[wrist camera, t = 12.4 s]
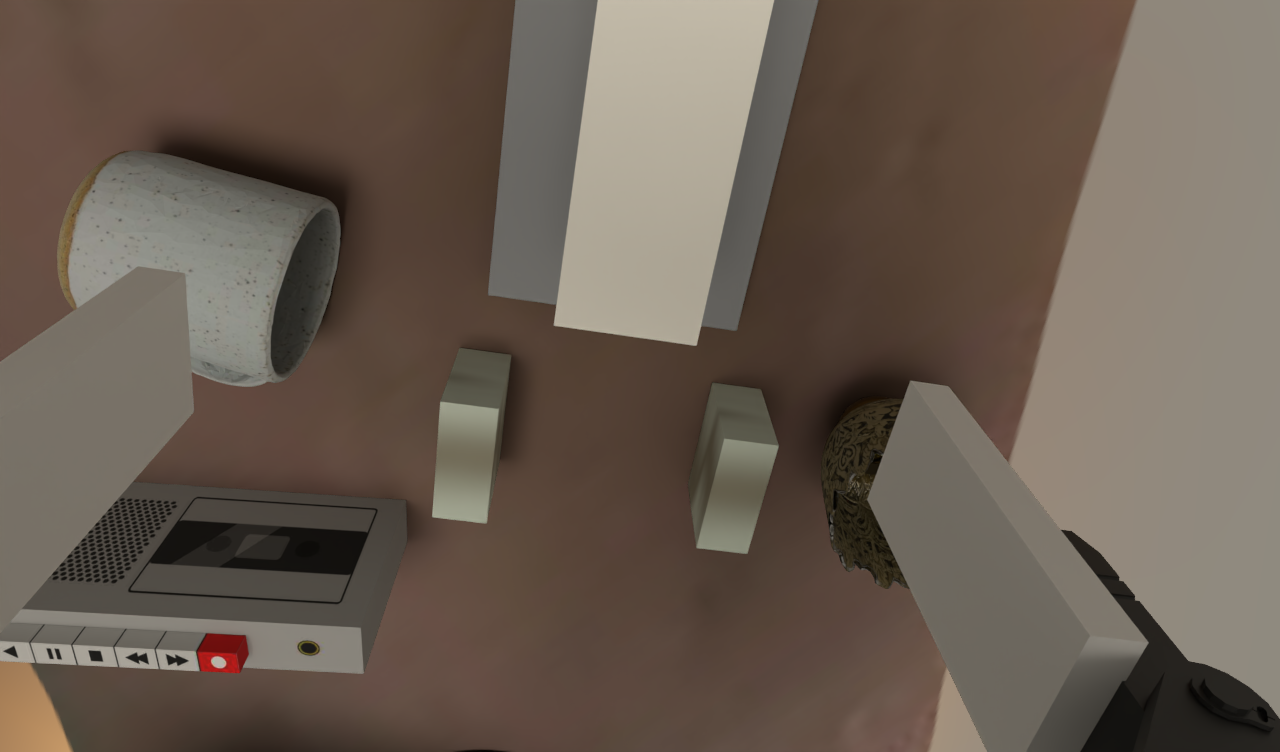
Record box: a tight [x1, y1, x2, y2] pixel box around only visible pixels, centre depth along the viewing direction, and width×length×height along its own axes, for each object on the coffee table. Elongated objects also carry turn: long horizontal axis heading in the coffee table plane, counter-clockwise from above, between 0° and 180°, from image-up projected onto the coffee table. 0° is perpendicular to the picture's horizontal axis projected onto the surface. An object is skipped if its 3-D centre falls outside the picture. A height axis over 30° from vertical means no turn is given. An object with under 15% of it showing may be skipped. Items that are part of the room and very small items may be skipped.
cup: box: [821, 396, 910, 589], centre depth 38 cm, size 8×7×8 cm
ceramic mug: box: [57, 151, 341, 387], centre depth 34 cm, size 11×8×8 cm
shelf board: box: [554, 0, 774, 346], centre depth 26 cm, size 16×5×2 cm, turn 170°
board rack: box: [432, 348, 779, 554], centre depth 39 cm, size 6×14×5 cm, turn 80°
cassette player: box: [0, 482, 407, 674], centre depth 39 cm, size 16×3×10 cm, turn 84°
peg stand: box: [488, 0, 818, 331], centre depth 30 cm, size 21×11×7 cm, turn 170°
